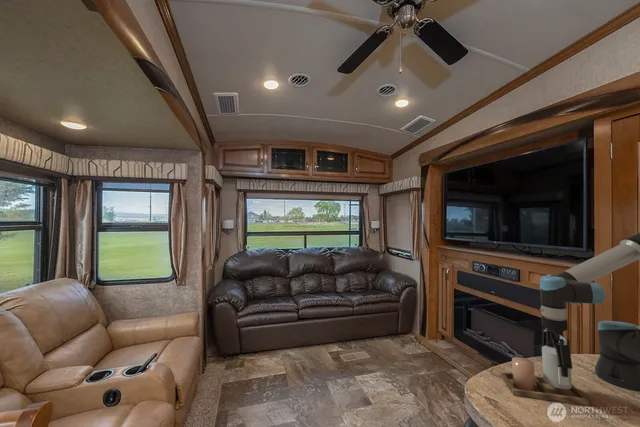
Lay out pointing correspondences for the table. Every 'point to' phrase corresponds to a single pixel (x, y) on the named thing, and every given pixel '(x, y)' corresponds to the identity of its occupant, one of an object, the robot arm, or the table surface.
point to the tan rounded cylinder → (523, 374)
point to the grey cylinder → (552, 368)
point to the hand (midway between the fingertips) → (556, 377)
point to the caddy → (546, 391)
